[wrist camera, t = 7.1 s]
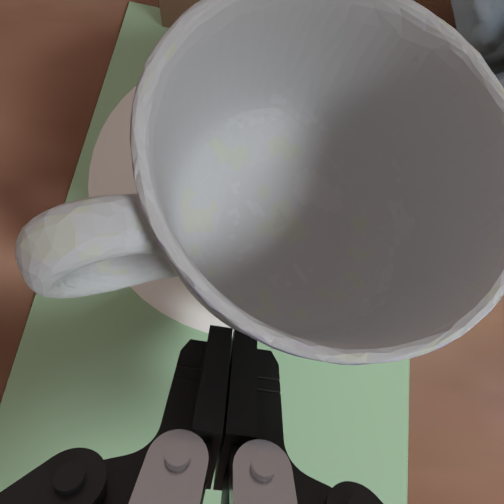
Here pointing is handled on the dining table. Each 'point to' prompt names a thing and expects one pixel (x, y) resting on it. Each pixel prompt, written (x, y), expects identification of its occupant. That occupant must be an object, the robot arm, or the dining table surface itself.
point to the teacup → (303, 180)
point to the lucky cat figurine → (483, 30)
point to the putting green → (175, 342)
